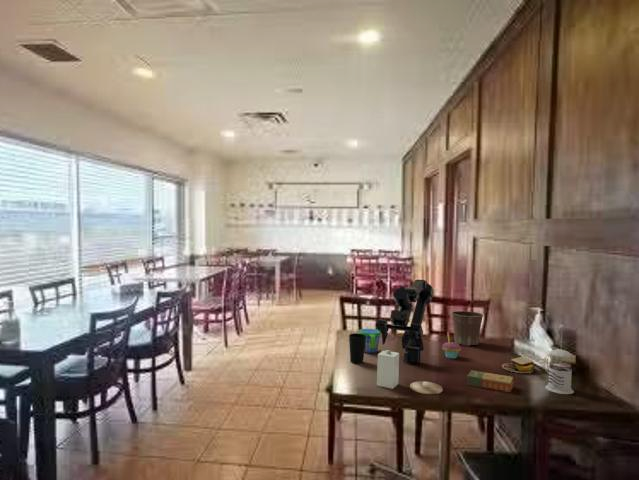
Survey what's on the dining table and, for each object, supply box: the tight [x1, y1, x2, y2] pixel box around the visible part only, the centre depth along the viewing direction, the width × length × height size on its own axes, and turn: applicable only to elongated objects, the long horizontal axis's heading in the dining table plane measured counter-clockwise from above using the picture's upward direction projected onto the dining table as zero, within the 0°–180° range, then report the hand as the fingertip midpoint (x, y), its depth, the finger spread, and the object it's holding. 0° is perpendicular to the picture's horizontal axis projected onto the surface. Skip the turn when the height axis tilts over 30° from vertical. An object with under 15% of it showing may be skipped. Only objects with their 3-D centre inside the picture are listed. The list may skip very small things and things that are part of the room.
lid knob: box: [423, 381, 430, 388], centre depth 170 cm, size 3×3×2 cm
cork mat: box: [409, 380, 444, 395], centre depth 170 cm, size 12×12×1 cm
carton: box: [466, 369, 515, 393], centre depth 175 cm, size 8×16×4 cm, turn 60°
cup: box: [348, 333, 366, 365], centre depth 201 cm, size 8×8×12 cm
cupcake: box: [441, 331, 462, 359], centre depth 213 cm, size 9×8×12 cm
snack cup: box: [358, 328, 382, 354], centre depth 219 cm, size 16×10×10 cm
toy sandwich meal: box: [501, 356, 535, 374], centre depth 196 cm, size 12×14×5 cm
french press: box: [543, 324, 575, 395], centre depth 173 cm, size 10×12×25 cm
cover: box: [376, 349, 400, 390], centre depth 173 cm, size 6×6×13 cm
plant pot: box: [451, 310, 484, 347], centre depth 240 cm, size 16×16×16 cm
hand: (394, 345), depth 179 cm, fingers open, 9 cm apart
